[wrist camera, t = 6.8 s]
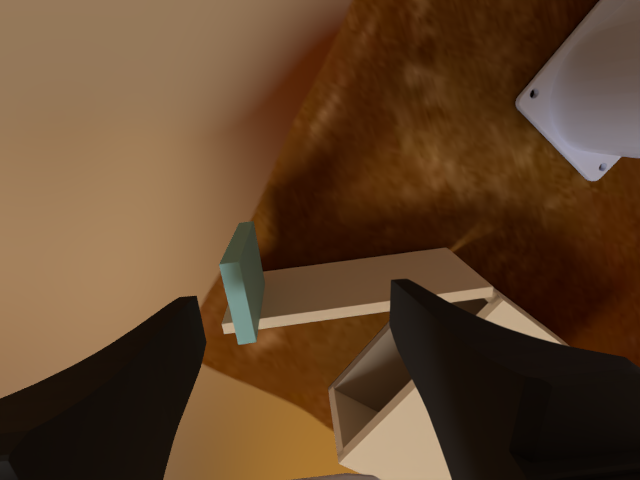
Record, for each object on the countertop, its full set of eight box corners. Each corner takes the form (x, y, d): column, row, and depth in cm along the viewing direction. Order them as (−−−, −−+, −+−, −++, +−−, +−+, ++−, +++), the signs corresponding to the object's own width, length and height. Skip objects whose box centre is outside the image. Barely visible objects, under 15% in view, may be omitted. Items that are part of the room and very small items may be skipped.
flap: (448, 188, 20) (526, 224, 14) (446, 255, 22) (514, 316, 15) (225, 216, 20) (191, 268, 13) (239, 283, 21) (216, 358, 15)
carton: (450, 254, 22) (503, 300, 17) (554, 333, 26) (628, 394, 20) (328, 388, 26) (338, 463, 20) (434, 443, 29) (468, 521, 23)
